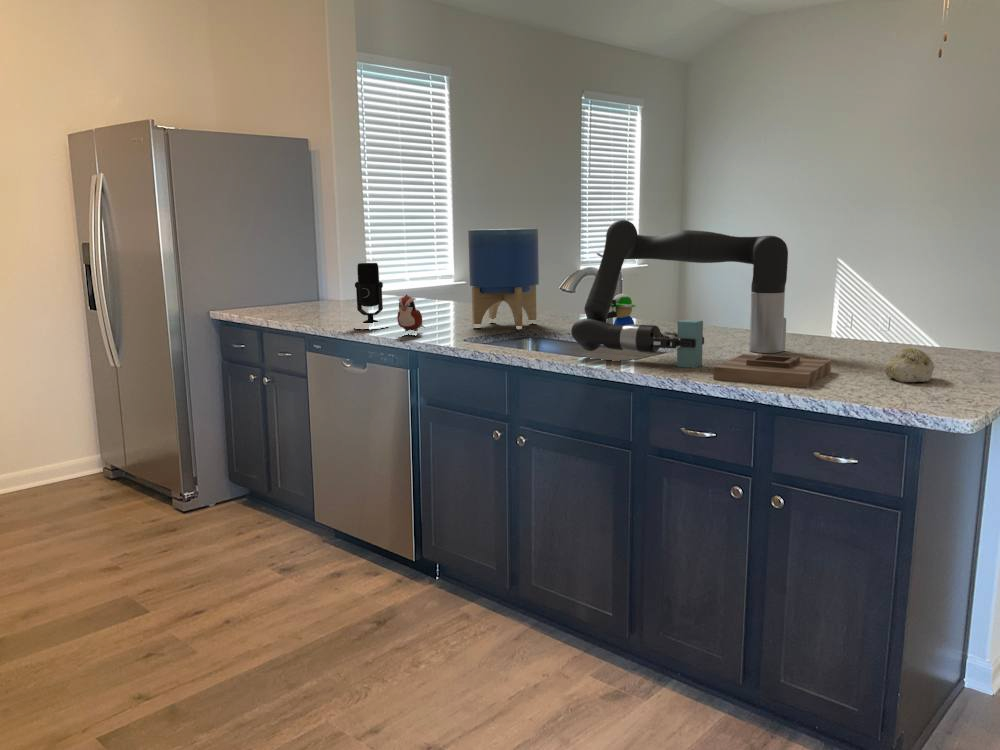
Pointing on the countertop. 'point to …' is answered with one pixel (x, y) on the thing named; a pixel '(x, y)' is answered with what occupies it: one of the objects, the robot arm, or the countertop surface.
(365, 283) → the microphone
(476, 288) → the planter
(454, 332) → the countertop surface
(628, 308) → the toy
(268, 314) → the countertop surface
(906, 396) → the countertop surface
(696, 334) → the pillar
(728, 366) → the plinth
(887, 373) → the decorative item
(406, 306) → the toy
